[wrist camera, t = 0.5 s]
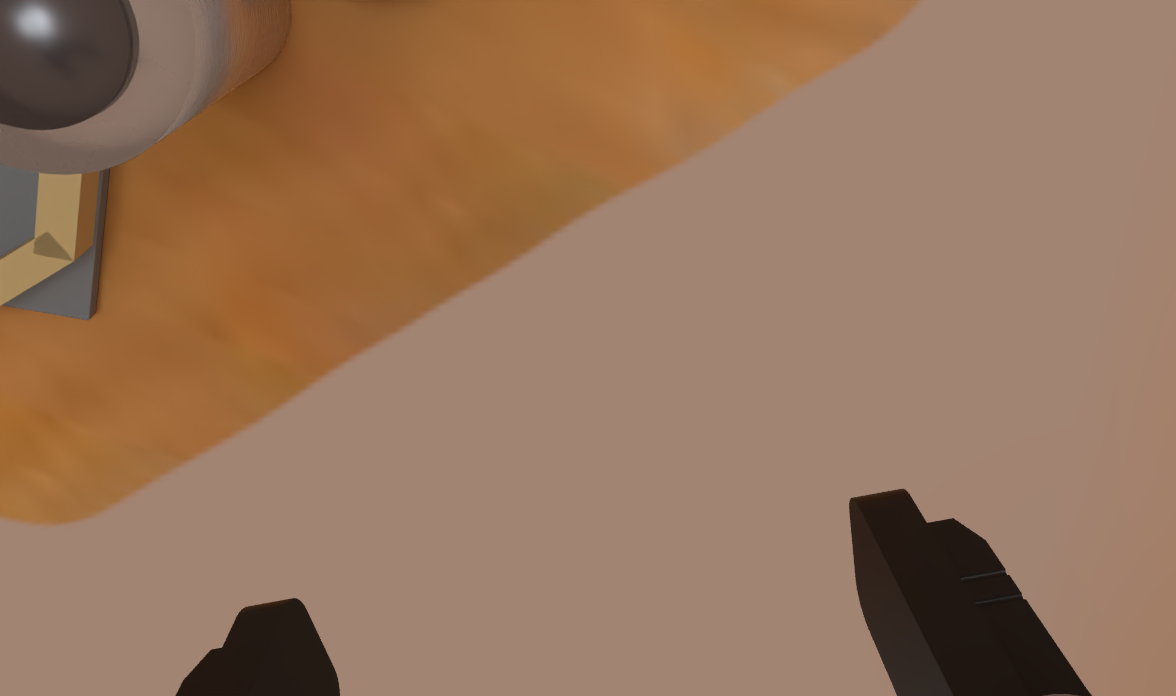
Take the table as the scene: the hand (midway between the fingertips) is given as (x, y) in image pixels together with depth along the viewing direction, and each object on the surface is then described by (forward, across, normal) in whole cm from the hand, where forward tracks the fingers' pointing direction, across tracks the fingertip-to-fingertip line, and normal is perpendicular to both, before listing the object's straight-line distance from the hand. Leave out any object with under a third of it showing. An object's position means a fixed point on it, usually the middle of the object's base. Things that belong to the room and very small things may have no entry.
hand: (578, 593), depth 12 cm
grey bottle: (+22, +10, -8) cm, 26 cm away
